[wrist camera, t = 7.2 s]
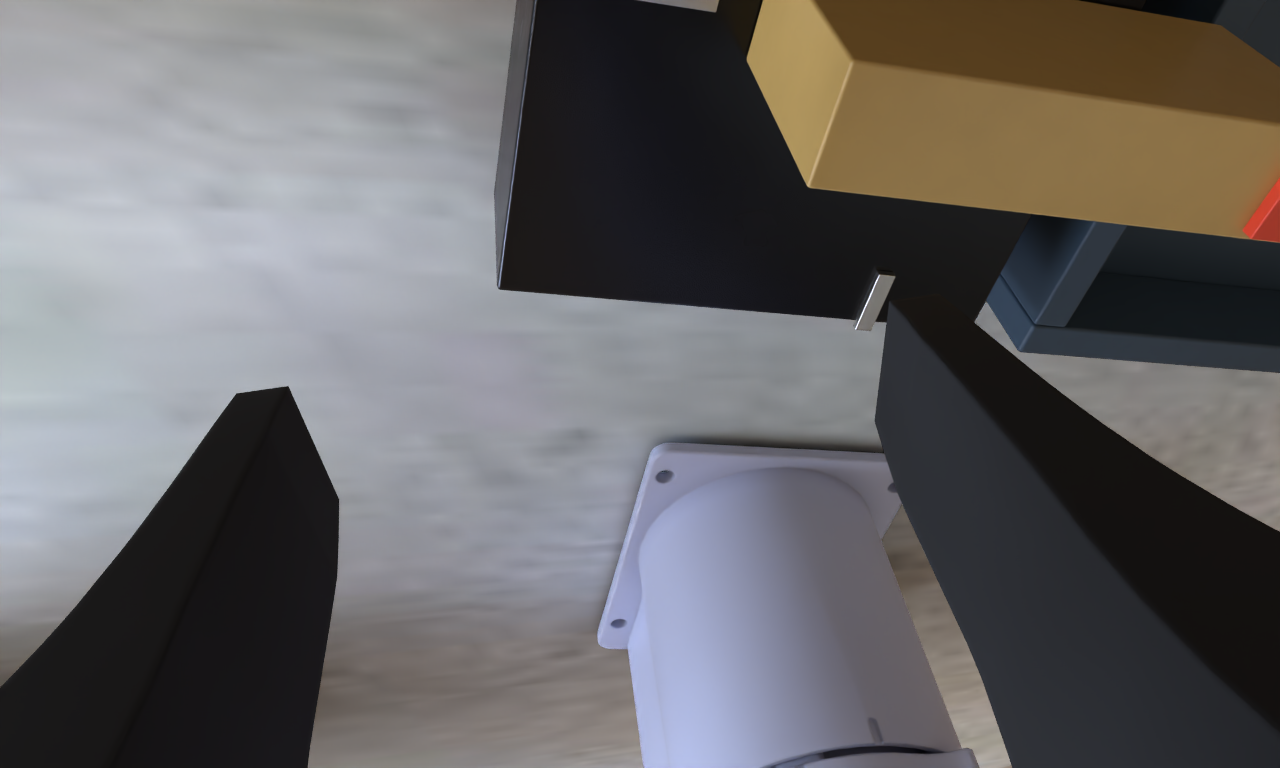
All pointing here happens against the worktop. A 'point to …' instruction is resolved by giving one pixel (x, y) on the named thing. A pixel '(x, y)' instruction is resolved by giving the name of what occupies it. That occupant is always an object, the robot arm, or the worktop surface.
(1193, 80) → the yellow-brown long block
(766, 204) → the black cupboard
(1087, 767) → the robot arm
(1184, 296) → the tray
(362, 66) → the worktop surface
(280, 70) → the worktop surface
